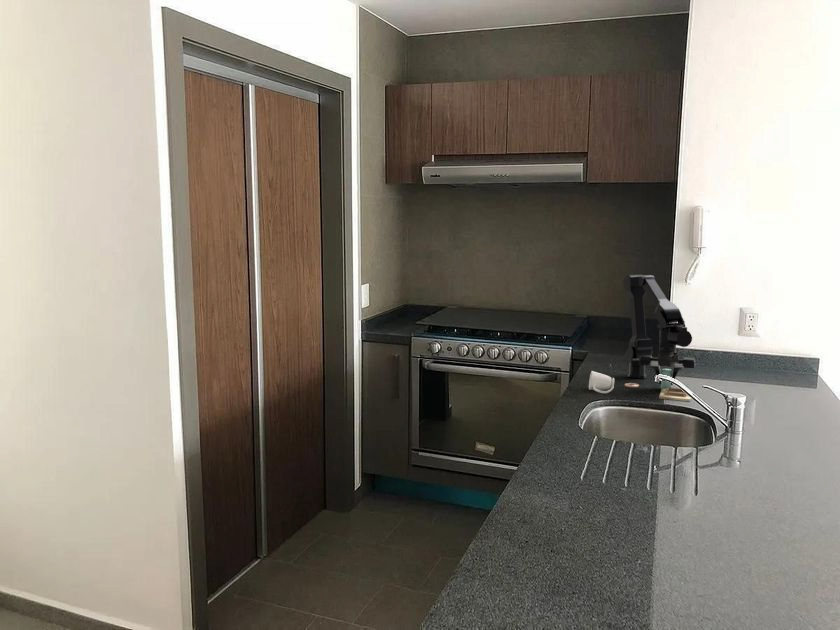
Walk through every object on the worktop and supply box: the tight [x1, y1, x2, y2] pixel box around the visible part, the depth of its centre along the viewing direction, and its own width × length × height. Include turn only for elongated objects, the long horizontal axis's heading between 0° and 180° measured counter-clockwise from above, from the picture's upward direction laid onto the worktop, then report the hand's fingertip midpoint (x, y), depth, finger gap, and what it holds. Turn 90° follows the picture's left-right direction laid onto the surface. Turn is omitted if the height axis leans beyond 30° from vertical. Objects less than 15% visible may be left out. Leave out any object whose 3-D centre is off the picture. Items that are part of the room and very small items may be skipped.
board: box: [658, 387, 692, 402], centre depth 243 cm, size 12×10×2 cm
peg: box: [660, 368, 673, 390], centre depth 253 cm, size 4×4×7 cm
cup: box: [588, 370, 615, 394], centre depth 252 cm, size 7×10×8 cm
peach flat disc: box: [624, 382, 640, 388], centre depth 258 cm, size 5×5×1 cm
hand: (666, 384), depth 253 cm, fingers closed on peg, 4 cm apart
